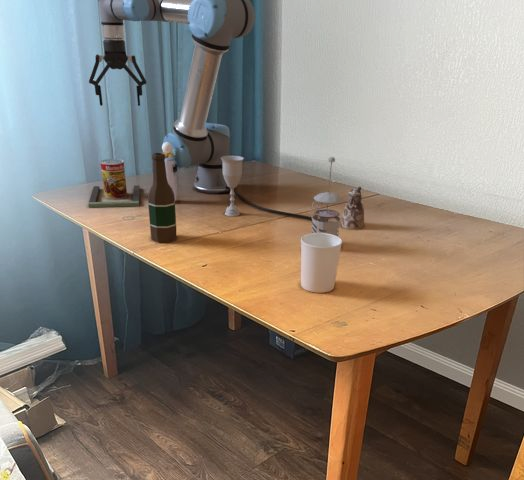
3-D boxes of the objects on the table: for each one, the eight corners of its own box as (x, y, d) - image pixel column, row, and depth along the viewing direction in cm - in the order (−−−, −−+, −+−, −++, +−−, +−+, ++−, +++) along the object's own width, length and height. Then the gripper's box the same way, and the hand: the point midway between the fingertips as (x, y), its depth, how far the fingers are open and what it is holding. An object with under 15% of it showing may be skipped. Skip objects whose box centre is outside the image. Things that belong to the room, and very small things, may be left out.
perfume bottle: (160, 203, 190) (156, 143, 179) (163, 199, 195) (159, 139, 184) (177, 204, 190) (174, 144, 179) (180, 199, 195) (177, 140, 184)
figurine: (336, 225, 176) (340, 187, 170) (349, 220, 180) (353, 183, 174) (354, 230, 172) (359, 192, 166) (367, 225, 176) (372, 188, 170)
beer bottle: (182, 236, 163) (177, 152, 151) (169, 244, 157) (164, 158, 144) (158, 232, 165) (152, 149, 153) (145, 240, 159) (138, 155, 147)
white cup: (295, 277, 140) (298, 232, 134) (333, 277, 141) (337, 232, 134) (300, 294, 132) (304, 247, 125) (340, 294, 132) (346, 247, 126)
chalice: (244, 211, 185) (245, 156, 176) (241, 217, 180) (242, 161, 170) (223, 210, 186) (222, 155, 176) (219, 216, 180) (219, 159, 171)
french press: (318, 253, 155) (326, 162, 141) (297, 240, 163) (303, 153, 150) (347, 248, 159) (357, 159, 145) (325, 235, 167) (333, 150, 154)
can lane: (94, 189, 202) (93, 186, 202) (139, 188, 205) (139, 185, 205) (88, 207, 184) (88, 204, 183) (139, 206, 187) (138, 202, 186)
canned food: (113, 200, 192) (109, 165, 185) (100, 195, 196) (95, 161, 190) (131, 196, 197) (128, 161, 190) (118, 191, 201) (114, 157, 195)
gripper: (150, 39, 197) (154, 103, 208) (77, 38, 193) (86, 103, 204) (150, 40, 191) (154, 106, 202) (75, 38, 187) (84, 106, 198)
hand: (120, 105), depth 203 cm, fingers open, 13 cm apart
